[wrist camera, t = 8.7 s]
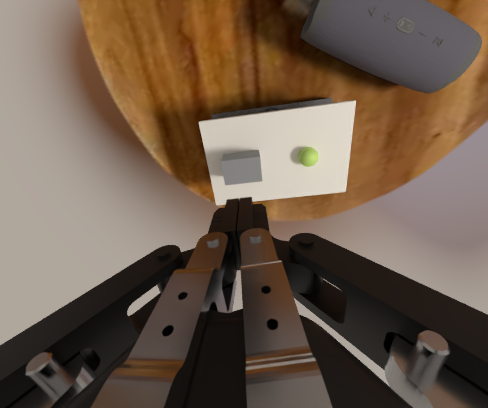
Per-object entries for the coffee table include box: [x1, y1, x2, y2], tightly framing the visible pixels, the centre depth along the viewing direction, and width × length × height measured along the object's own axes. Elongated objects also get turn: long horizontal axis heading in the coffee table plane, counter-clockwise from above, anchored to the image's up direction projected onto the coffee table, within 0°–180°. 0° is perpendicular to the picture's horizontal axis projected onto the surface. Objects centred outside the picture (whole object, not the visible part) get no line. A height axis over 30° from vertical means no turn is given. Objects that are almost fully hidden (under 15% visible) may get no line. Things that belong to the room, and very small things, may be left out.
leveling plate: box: [199, 100, 356, 205], centre depth 35 cm, size 15×24×7 cm, turn 97°
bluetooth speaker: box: [301, 0, 482, 93], centre depth 31 cm, size 23×9×10 cm, turn 71°
